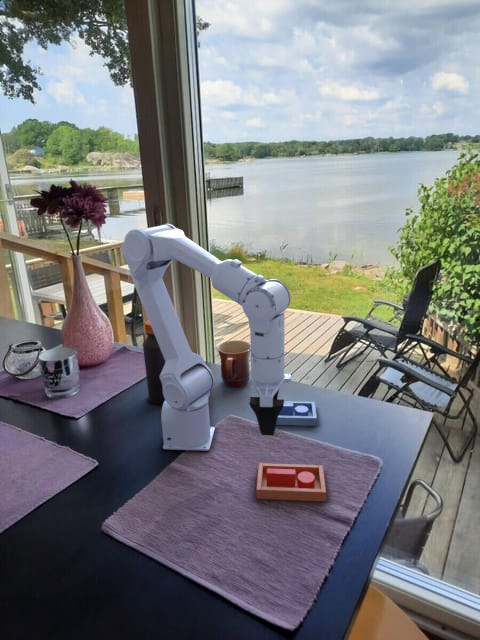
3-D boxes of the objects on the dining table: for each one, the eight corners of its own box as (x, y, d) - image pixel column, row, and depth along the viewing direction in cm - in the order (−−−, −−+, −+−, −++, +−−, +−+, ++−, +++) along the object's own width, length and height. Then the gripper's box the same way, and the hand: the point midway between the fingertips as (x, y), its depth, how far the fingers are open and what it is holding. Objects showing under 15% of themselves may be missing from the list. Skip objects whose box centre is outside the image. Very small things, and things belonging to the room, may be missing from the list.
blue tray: (262, 424, 96) (262, 417, 96) (264, 407, 103) (264, 400, 102) (316, 425, 95) (316, 418, 94) (314, 408, 102) (314, 401, 101)
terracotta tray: (256, 498, 75) (256, 489, 74) (258, 471, 81) (258, 462, 81) (325, 501, 74) (326, 492, 73) (322, 473, 80) (322, 465, 80)
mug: (223, 374, 120) (221, 339, 117) (255, 376, 118) (254, 341, 115) (212, 396, 109) (209, 358, 106) (246, 398, 107) (245, 360, 104)
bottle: (143, 402, 107) (134, 325, 101) (158, 389, 113) (151, 315, 106) (167, 407, 105) (159, 328, 98) (181, 393, 111) (175, 318, 104)
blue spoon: (270, 418, 98) (270, 407, 97) (271, 411, 101) (270, 400, 100) (308, 418, 97) (308, 408, 96) (307, 411, 100) (308, 401, 99)
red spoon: (266, 488, 76) (266, 476, 76) (267, 477, 79) (267, 465, 78) (315, 490, 76) (315, 478, 75) (314, 479, 78) (314, 466, 78)
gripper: (291, 371, 68) (291, 446, 72) (290, 337, 81) (290, 402, 86) (246, 371, 68) (248, 445, 73) (252, 336, 82) (254, 401, 86)
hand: (268, 421), depth 79 cm, fingers open, 7 cm apart
